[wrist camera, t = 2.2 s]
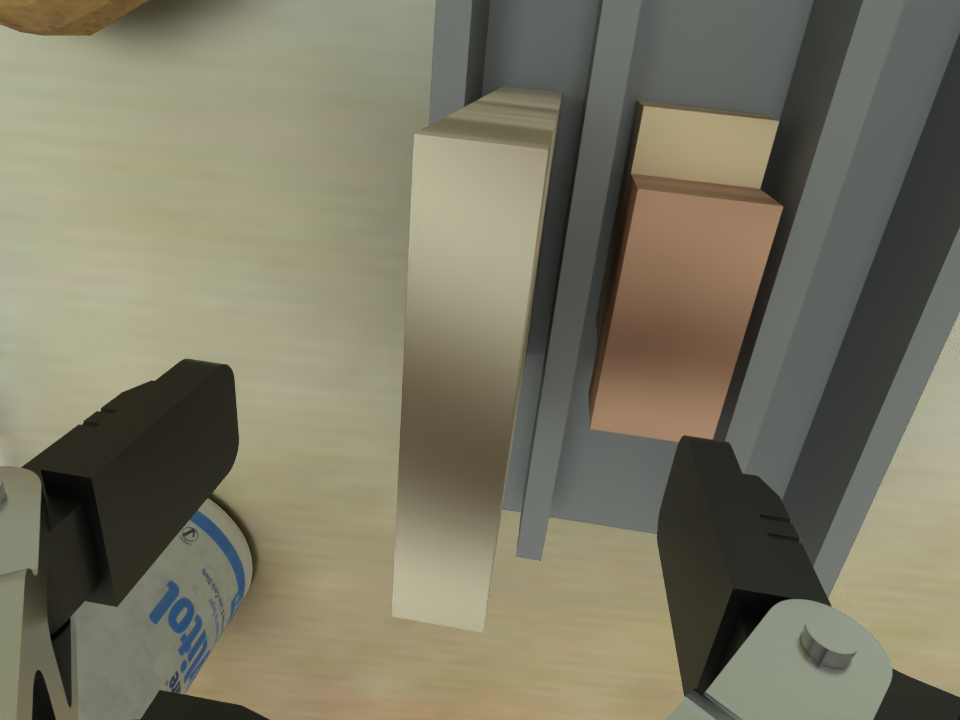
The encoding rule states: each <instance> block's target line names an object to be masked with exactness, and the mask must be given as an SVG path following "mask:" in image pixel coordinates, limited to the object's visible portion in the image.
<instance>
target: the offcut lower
mask: <svg viewBox="0 0 960 720" xmlns="http://www.w3.org/2000/svg"><path fill="white" fill-rule="evenodd" d="M778 124H779V121H778V120H775V119H772V118H769V117H766V116H764V115H761V114H758V113H749V112H740V111H731V110H722V109H713V108H703V107H694V106H685V105H676V104H667V103H658V102H649V101H640V100H637V102H636V107H635V112H634V118H633V123H632V128H631V134H630V139H629V144H628V149H627V155H626V160H625V165H624V171H623V176H622V181H621V187H620V192H619V197H618V203H617V208H616V213H615V219H614V224H613V229H612V235H611V240H610V245H609V250H608V256H607V261H606V266H605V272H604V277H603V282H602V288H601V293H600V298H599V304H598V309H597V314H596V329H597V341H599V336H600V331H601V326H602V321H603V315H604V310H605V305H606V300H607V295H608V290H609V284H610V279H611V274H612V269H613V264H614V259H615V253H616V248H617V243H618V238H619V233H620V228H621V222H622V217H623V212H624V207H625V202H626V197H627V191H628V186H629V181H630V176H631V174H639V175H647V176H656V177H664V178H673V179H681V180H689V181H698V182H706V183H715V184H723V185H732V186H740V187H749V188H757V189H760V187H761V184H762V180H763V177H764V173H765V170H766V166H767V163H768V159H769V156H770V152H771V149H772V145H773V142H774V138H775V135H776V131H777V128H778Z"/></svg>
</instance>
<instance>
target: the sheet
mask: <svg viewBox="0 0 960 720" xmlns="http://www.w3.org/2000/svg"><path fill="white" fill-rule="evenodd" d="M562 94H563V92H558V91H549V90H540V89H531V88H521V87H512V86H503V87H501V88H499V89H497V90H495V91H493V92H492V93H490V94H488V95H486V96H484V97H482V98H480V99H479V100H477V101H475V102H473V103H471V104H469V105H467V106H465V107H464V108H462V109H460V110H458V111H456V112H454V113H452V114H450V115H449V116H447V117H445V118H443V119H441V120H439V121H437V122H435V123H434V124H432V125H430V126H428V127H426V128H424V129H422V130H420V131H419V132H417V133H415V134H414V144H413V166H412V188H411V210H410V232H409V254H408V276H407V298H406V319H405V341H404V363H403V385H402V407H401V429H400V451H399V473H398V495H397V516H396V538H395V560H394V582H393V604H392V617H398V618H403V619H409V620H415V621H420V622H426V623H432V624H438V625H443V626H449V627H455V628H460V629H466V630H472V631H478V632H483V629H484V623H485V616H486V610H487V603H488V597H489V590H490V584H491V577H492V571H493V565H494V558H495V552H496V545H497V539H498V532H499V526H500V519H501V513H502V507H503V500H504V494H505V487H506V481H507V474H508V468H509V462H510V455H511V449H512V442H513V436H514V429H515V423H516V416H517V410H518V404H519V397H520V391H521V384H522V378H523V371H524V365H525V358H526V352H527V344H528V337H529V330H530V323H531V316H532V309H533V302H534V294H535V287H536V280H537V273H538V266H539V259H540V251H541V244H542V237H543V230H544V223H545V216H546V209H547V201H548V194H549V187H550V180H551V173H552V166H553V158H554V151H555V144H556V137H557V130H558V123H559V115H560V108H561V101H562Z"/></svg>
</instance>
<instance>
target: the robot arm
mask: <svg viewBox="0 0 960 720" xmlns="http://www.w3.org/2000/svg"><path fill="white" fill-rule="evenodd" d="M238 445H239V434H238V421H237V408H236V394H235V381H234V374H233V371H232V369H231V368H230V367H229V366H228V365H226V364H219V363H212V362H206V361H199V360H193V359H184V360H182V361H180V362H179V363H178V364H176V365H175V366H174V367H172V368H171V369H170V370H169V371H167V372H166V373H165V374H163V375H162V376H161V377H159V378H158V379H157V380H156V381H149V382H147V383H144V384H142V385H139V386H137V387H135V388H132V389H130V390H127V391H125V392H122V393H121V394H120V395H118V396H117V397H116V398H114V399H113V400H111V401H110V402H109V403H107V404H106V405H105V406H103V407H102V408H101V411H100V412H98V411H97V412H95V413H94V414H93V415H91V416H90V417H89V418H87V419H86V420H85V421H84V423H83V425H78V426H76V427H75V428H74V429H72V430H71V431H70V432H68V433H67V434H66V435H64V436H63V437H62V438H60V439H59V440H58V441H56V442H55V443H54V444H52V445H51V446H49V447H48V448H47V449H45V450H44V451H43V452H41V453H40V454H39V455H37V456H36V457H35V458H33V459H32V460H31V461H29V462H28V463H27V464H25V465H24V466H23V467H21V468H20V467H11V466H0V720H79V719H78V678H77V638H76V625H75V620H74V616H73V614H74V612H75V611H76V610H77V609H78V608H79V607H80V606H81V605H82V604H83V602H84V601H87V602H92V603H97V604H103V605H108V606H114V607H118V606H119V604H120V603H121V602H122V601H123V600H124V598H125V597H126V596H127V595H128V594H129V592H130V591H131V590H132V589H133V588H134V586H135V585H136V584H137V583H138V581H139V580H140V579H141V578H142V577H143V575H144V574H145V573H146V572H147V571H148V569H149V568H150V567H151V566H152V565H153V563H154V562H155V561H156V560H157V559H158V557H159V556H160V555H161V554H162V553H163V551H164V550H165V549H166V548H167V547H168V545H169V544H170V543H171V542H172V541H173V539H174V538H175V537H176V536H177V534H178V533H179V532H180V531H181V530H182V528H183V527H184V526H185V525H186V524H187V522H188V521H189V520H190V519H191V518H192V516H193V515H194V514H195V513H196V512H197V510H198V509H199V508H200V507H201V506H202V504H203V503H204V502H205V501H206V500H207V498H208V497H209V496H210V495H211V494H212V492H213V491H214V490H215V489H216V487H217V486H218V485H219V484H220V483H221V481H222V480H223V479H224V478H225V477H226V475H227V474H228V473H229V472H230V470H231V468H232V466H233V464H234V462H235V459H236V456H237V451H238ZM790 520H791V519H790V517H789V515H788V513H787V511H786V509H785V507H784V504H783V502H782V500H781V498H780V497H779V496H778V495H777V494H776V493H775V492H774V491H773V490H772V489H771V488H770V487H769V486H768V485H767V484H766V483H765V482H764V481H763V480H762V479H761V478H760V477H759V476H756V475H750V474H743V473H742V471H741V468H740V466H739V463H738V461H737V459H736V456H735V454H734V451H733V449H732V446H731V444H730V443H729V442H726V441H719V440H713V439H706V438H700V437H693V436H686V435H684V436H682V437H681V439H680V441H679V443H678V446H677V449H676V453H675V456H674V460H673V463H672V467H671V471H670V474H669V478H668V482H667V485H666V489H665V492H664V496H663V500H662V503H661V507H660V512H659V517H658V527H657V541H658V549H659V554H660V560H661V566H662V571H663V577H664V583H665V589H666V594H667V600H668V606H669V611H670V617H671V623H672V629H673V634H674V640H675V646H676V651H677V657H678V663H679V669H680V674H681V680H682V686H683V691H684V699H683V700H682V701H681V702H680V703H679V705H678V706H677V707H676V708H675V709H674V711H673V712H672V713H671V714H670V716H669V717H668V718H667V719H666V720H960V697H958V696H955V695H953V694H950V693H948V692H945V691H943V690H940V689H938V688H936V687H933V686H931V685H928V684H926V683H923V682H921V681H919V680H916V679H914V678H911V677H909V676H907V675H905V674H902V673H900V672H898V671H896V670H894V669H893V668H892V666H891V662H890V659H889V657H888V655H887V653H886V651H885V650H884V648H883V647H882V645H881V644H880V643H879V641H878V640H877V639H876V638H875V637H874V636H873V635H872V634H871V633H870V632H869V631H868V630H867V629H866V628H865V627H864V626H862V625H861V624H860V623H858V622H857V621H856V620H854V619H853V618H851V617H850V616H848V615H846V614H845V613H843V612H841V611H839V610H837V609H835V608H832V606H831V604H830V602H829V600H828V598H827V595H826V593H825V591H824V589H823V587H822V585H821V583H820V581H819V579H818V576H817V574H816V572H815V570H814V568H813V566H812V564H811V562H810V559H809V557H808V555H807V553H806V551H805V549H804V547H803V545H802V543H799V536H798V534H797V532H796V530H795V528H794V526H793V524H790ZM135 720H269V719H267V718H265V717H263V716H261V715H259V714H257V713H255V712H253V711H251V710H249V709H248V708H246V707H244V706H241V705H236V704H231V703H225V702H220V701H215V700H210V699H205V698H199V697H194V696H189V695H184V694H179V693H173V692H168V691H163V690H159V691H158V693H157V695H156V696H155V698H154V699H153V701H152V702H151V704H150V705H149V707H148V708H147V710H146V711H145V713H144V714H143V716H142V717H141V719H135Z"/></svg>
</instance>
